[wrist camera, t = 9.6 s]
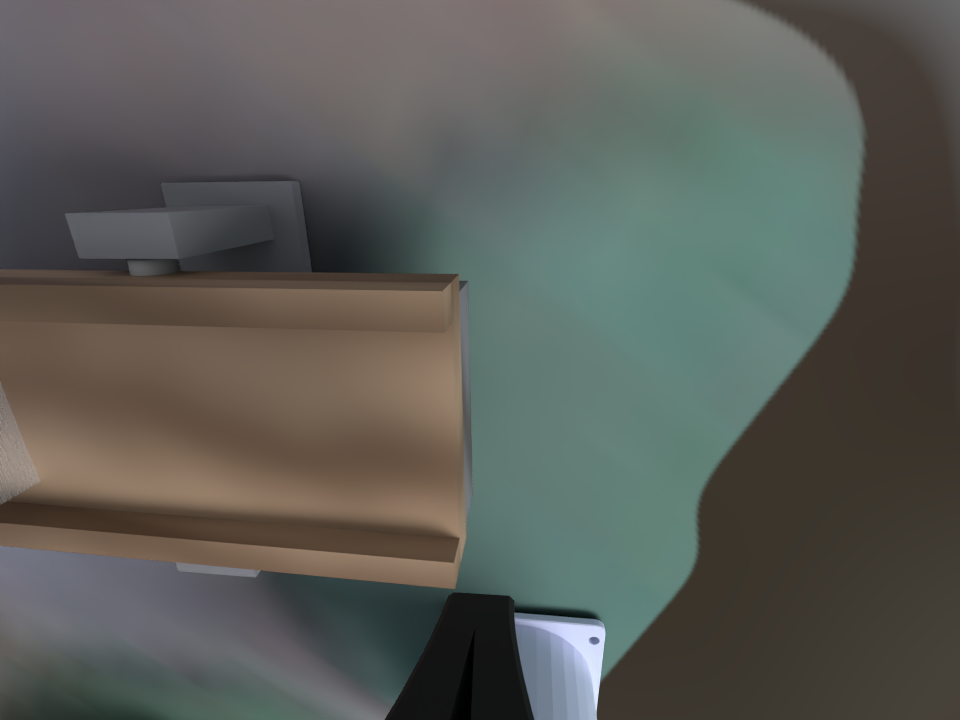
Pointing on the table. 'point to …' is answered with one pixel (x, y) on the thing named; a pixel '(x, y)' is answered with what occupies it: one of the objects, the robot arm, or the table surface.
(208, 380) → the tan wooden tray
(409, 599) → the table surface
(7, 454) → the block
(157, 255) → the stand
